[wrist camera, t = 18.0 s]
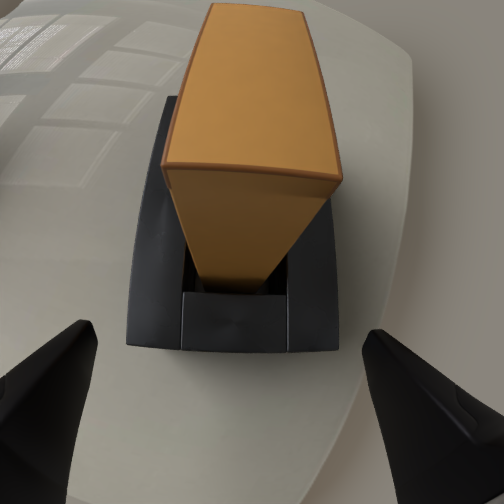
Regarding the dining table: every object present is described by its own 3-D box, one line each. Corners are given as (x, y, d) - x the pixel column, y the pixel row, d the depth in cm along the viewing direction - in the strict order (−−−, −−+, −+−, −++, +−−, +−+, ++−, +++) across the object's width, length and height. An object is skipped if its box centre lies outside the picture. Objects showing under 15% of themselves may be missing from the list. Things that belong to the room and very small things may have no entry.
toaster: (304, 347, 17) (339, 350, 11) (154, 342, 16) (125, 344, 11) (295, 142, 21) (314, 93, 16) (179, 135, 20) (171, 83, 15)
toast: (256, 293, 16) (344, 180, 4) (203, 291, 16) (158, 166, 4) (258, 186, 18) (304, 11, 6) (211, 184, 18) (210, 2, 6)
